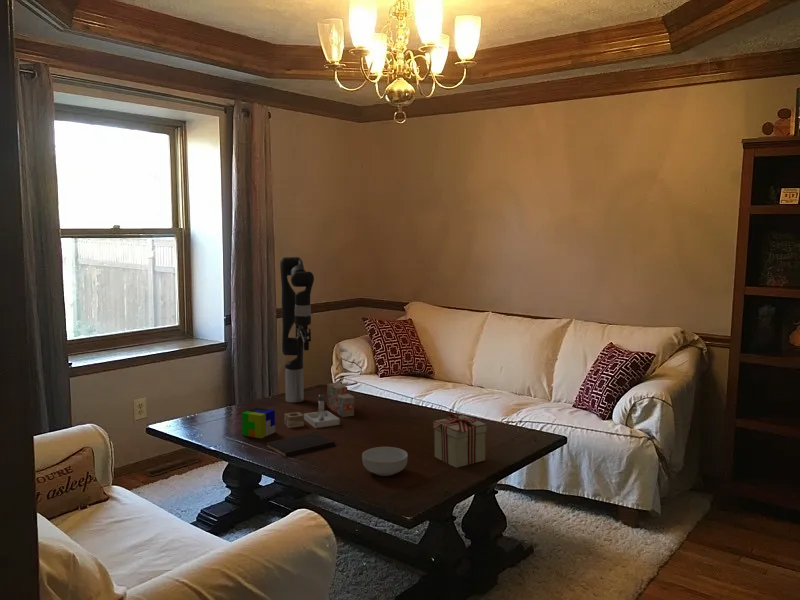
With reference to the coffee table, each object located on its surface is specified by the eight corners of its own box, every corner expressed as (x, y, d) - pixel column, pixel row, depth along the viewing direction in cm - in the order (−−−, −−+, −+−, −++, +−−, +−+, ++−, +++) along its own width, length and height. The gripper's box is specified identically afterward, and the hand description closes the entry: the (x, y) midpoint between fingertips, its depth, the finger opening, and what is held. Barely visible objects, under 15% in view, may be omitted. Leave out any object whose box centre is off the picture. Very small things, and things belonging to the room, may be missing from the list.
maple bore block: (284, 424, 309) (284, 413, 308) (298, 422, 312) (298, 411, 311) (289, 428, 302) (289, 417, 302) (303, 426, 306) (303, 415, 305)
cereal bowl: (352, 474, 245) (352, 455, 244) (379, 461, 259) (379, 443, 258) (391, 484, 236) (391, 464, 235) (416, 470, 250) (416, 451, 249)
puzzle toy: (275, 432, 296) (274, 410, 295) (261, 438, 287) (260, 415, 286) (256, 429, 300) (256, 407, 299) (242, 435, 291) (241, 413, 290)
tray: (303, 419, 316) (303, 413, 316) (327, 416, 322) (327, 410, 322) (315, 428, 302) (315, 422, 302) (340, 424, 308) (340, 419, 307)
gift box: (425, 459, 262) (426, 416, 260) (460, 450, 273) (461, 408, 271) (454, 471, 248) (455, 426, 246) (490, 461, 259) (491, 418, 258)
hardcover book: (266, 448, 276) (266, 442, 276) (314, 437, 290) (314, 432, 290) (285, 458, 263) (285, 453, 263) (334, 447, 278) (334, 441, 277)
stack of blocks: (354, 415, 323) (354, 390, 321) (342, 417, 320) (342, 392, 319) (338, 405, 342) (338, 381, 341) (327, 406, 339) (326, 383, 338)
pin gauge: (317, 420, 313) (317, 394, 311) (323, 419, 314) (322, 394, 313) (319, 421, 310) (319, 396, 309) (325, 420, 312) (324, 395, 310)
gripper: (290, 312, 317) (290, 346, 319) (300, 316, 304) (300, 352, 306) (305, 311, 320) (305, 345, 322) (315, 315, 308) (316, 350, 310)
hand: (303, 348), depth 314 cm, fingers open, 8 cm apart
